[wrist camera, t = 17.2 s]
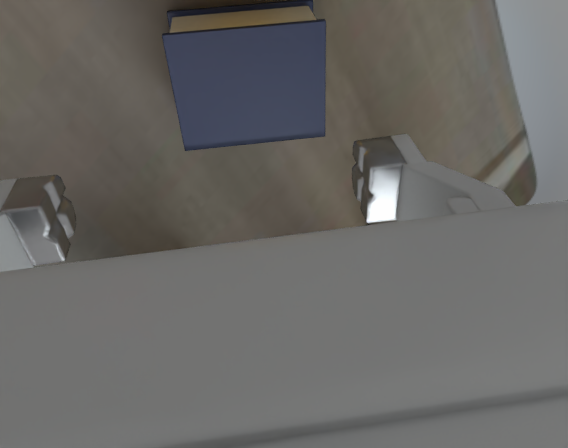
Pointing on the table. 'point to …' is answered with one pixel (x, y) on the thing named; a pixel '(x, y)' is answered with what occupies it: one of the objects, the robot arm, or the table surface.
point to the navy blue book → (247, 73)
